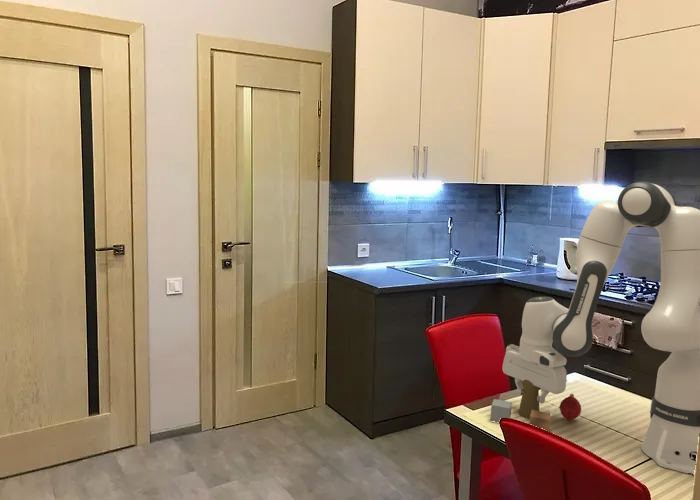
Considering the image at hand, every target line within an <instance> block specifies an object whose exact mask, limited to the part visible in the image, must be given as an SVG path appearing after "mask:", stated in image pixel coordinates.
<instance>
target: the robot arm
mask: <svg viewBox="0 0 700 500" xmlns="http://www.w3.org/2000/svg"><path fill="white" fill-rule="evenodd" d="M632 228H653V229H654V228H655V230H656V231H657V233H658V235H659V242H660V286H659V290H658V294H657V296H656V299H655V301H654V304H653V306H652V308H651V309H650V311H648V312H647V313H646V314H645V316H644V317H643V319H642V321H641V326H640V328H641V330H640V331H641V335H642V338H643V340H644V341H645V343H646V344H647V345H648V346H649V347H650V348H653V349H654V350H659V351H663V352H668V353H669V352H670V354H669V356H668V358H666V360H665V361H664V362H662V363H661V365H660V366H659V367H658V370H657V374H656V376H657V377H656V383H655V391H654V396H653V397H652V399H651V404H650V410H649V413H650V414H649V415H650V416H649V417H650V420H649V425H648V428H647V430H646V431H647V432H646V434H645V437H644V438H643V440H642V442H641V445H640V449H641V451H642V452H643V453H644V454H645V455H646V456H648V457H649V458H651V459H652V460H653V461H654V462H655V463H656V464H657V465H658V466H659V467H662V468H666V469H669V470H673V471H677V472H681V473H684V474H688V473H692V474H693V473H694V470H695V463H696V455H697V445H698V437H699V433H700V209H698V208H695V207H692V206H679V205H677V201H676V199H675V197H674V195H673V194H672V193H671V192H670V191H669V190H667V189H665V188H664V187H662V186H661V185H659V184H655V183H651V182H649V181H636V182H633V183H629V185H627V186H626V187H624V188H623V189H622V191H621V192H620V193H619V195H618V198H617V201H613V200H603V201H599V202H598V203H596V204H595V205H594V206H593V208H592V210H591V211H590V213H589V215H588V217H587V219H586V221H585V223H584V225H583V228H582V230H581V233H580V236H579V237H578V238H579V239H578V242H577V246H576V251H575V267H576V277H577V278H576V285H575V289H574V293H573V296H572V298H571V302H570V305H569V308H567V307H565V306H563V305H562V304H560V303H559V302H557V301H556V300H555V299H554V298H553V297H550V296H543V295H542V296H534V297H532V298H529V299H528V300H527V301H526V303H525V305H524V308H523V311H522V319H521V328H522V329H521V330H522V333H521V336H520V340H519V346H518V345H516V344H513V343H511V344H508V345H507V346H506V348H505V355H504V358H503V362H502V371H503V374H505V375H507V376H510V377H512V378H514V382H515V386H516V387H517V388H516V389H517V390H516V393H517V394H519V395H520V396H521V395H523V390H524V388H523V385H522V383H523V381H524V380H528V381H530V382H531V383H532V384H533V385H534V386H536V387H539V388H540V392H541V394H539V396H537V402H539V404H544V403H545V401H546V397H547V396H548V395H549V394H550V393H551V394H553V395H554V394H555V395H559V394H562V393H564V392H565V391H566V387H567V369H566V368H565V366H566V364H567V361H568V360H567V358H566V357H569V358H570V357H572V358H578V357H581V356H583V355H585V354H587V353H588V352H589V351H590V349H591V348H592V345H593V343H594V336H593V334H594V333H593V327H592V323H593V318H594V317H595V316H594V315H595V312H596V309H597V306H598V302H599V301H600V297H601V293H602V292H603V289H604V286H605V284H606V281H607V280H608V278H609V276H610V274H611V271H612V270H613V268H614V266H615V264H616V262H617V260H618V258H619V255H620V254H621V252H622V247H623V245H624V244H625V240H626V238H627V237H626V236H628V233H629V231H630V230H631V229H632ZM553 346H554V347H553ZM692 474H691V475H692ZM692 476H695V475H694V474H693V475H692Z"/></svg>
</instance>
